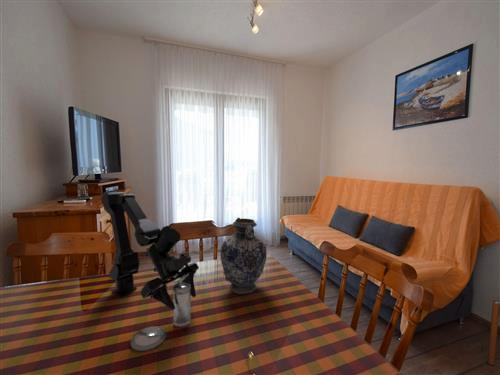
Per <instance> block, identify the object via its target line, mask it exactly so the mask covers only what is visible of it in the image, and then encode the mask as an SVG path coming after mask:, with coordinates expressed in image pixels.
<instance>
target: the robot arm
mask: <svg viewBox="0 0 500 375" xmlns="http://www.w3.org/2000/svg"><path fill="white" fill-rule="evenodd" d="M100 201H101V204H102V206H103V209H104V211H105V212H106V213H108V215H109V217H110V220H111V227H112V233H113V237H114V244H115V249H116V250H115V251H116V252H115V253H116V254H115V255H114V257H113V261H112V262H113V263H112V264H113V266H112V267H111V269H110V271H109V272H108V274H109V278H110V279H111V280H114V282H115V283H114V285H115V286H114V287H115V289H113V290H111V293H112V294H115V295H117V296H120V297H124V296H127V294H130V293H132V292H134V291H135V290H137V289H138V288H137V286H135V284H134V283H135V282H134V281H135V280H134V275H136V274H138V273H139V268H140V265H141V264H140V259H139V253H138V252H137V251H134V250H133V249H132V247H131V242H130V241H131V240H130V236H129V230H128V225H127V219H126V215H127V217H128V218H129V220H130V222H131V223H132V225H133V227H134V230H135V231H134V237H135V240H136V242H137V244H138V245H139V246H140V247H148V246H149V247H148V248H146V249H145V250H146V252H144V254H145V255H144V257H145V258H147V257H149V259H150V260H151V262H152V264H153V266H154V267H153V272H154V273H157V274H158V276H159V277H155V278H153V279H150V280H148V281H147V282H146V283H145V284H144V285H143V287H142V288H141V290H140V295H141V297H142V299H144V300H145V299H146V298H147V299H148V298H150V300H151V299H155V300H156V301H158V302H160V303H161V304H163V305H165V306H166V307H167V308H169V309H170V310H172V311H174V309H175V306H174V300H172V298H171V296H170V295H169V292H168V290H167V288H168V287H167V286H168V284H170V283H172V282H174V280H176V279H179V278H182V279H183V281H182V282H186V283H189V284H190V285H191V290H190V296H192V298H195V297H197V295H196V294H197V292H196V288H195V280H194V278H195V275H196V273H197V271H198V270H199V268H200V266H199V265H198V264H197V263H196V262H195V261H193V262H191V261H192V258H191V259H190V257H191V256H190V255H189V253H188V252H187V251H185V252H182V253H180V254H179V257H180V258H179V257H178V258H177V259H176V256H174V255H171V254H170V252H171V251H172V250H173V249H174V248H175V247H176V245H177V244H178V243H179V242H180V240H181V233H180V232H179V231H178V230H176V229H174V228H172V227H170V225H165V226H162V228H161V229H160V227H159V226H158V224H156V223H155V222H153V221H151V220H149V219H148V217H147V216H146V214H145V212H144V211H143V209H142V208H141V206H140V205H139V203H138V201H137V199H136V196H135V194H133V193H129V192H128V193H125V192H124V191H109V192H108V191H107V192H104V194H103V195H101V197H100ZM190 260H191V261H190ZM189 261H190V262H191V263H190V262H189ZM183 266H185V267H184V268H183V269H182V267H183ZM181 269H182V271H181Z"/></svg>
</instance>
